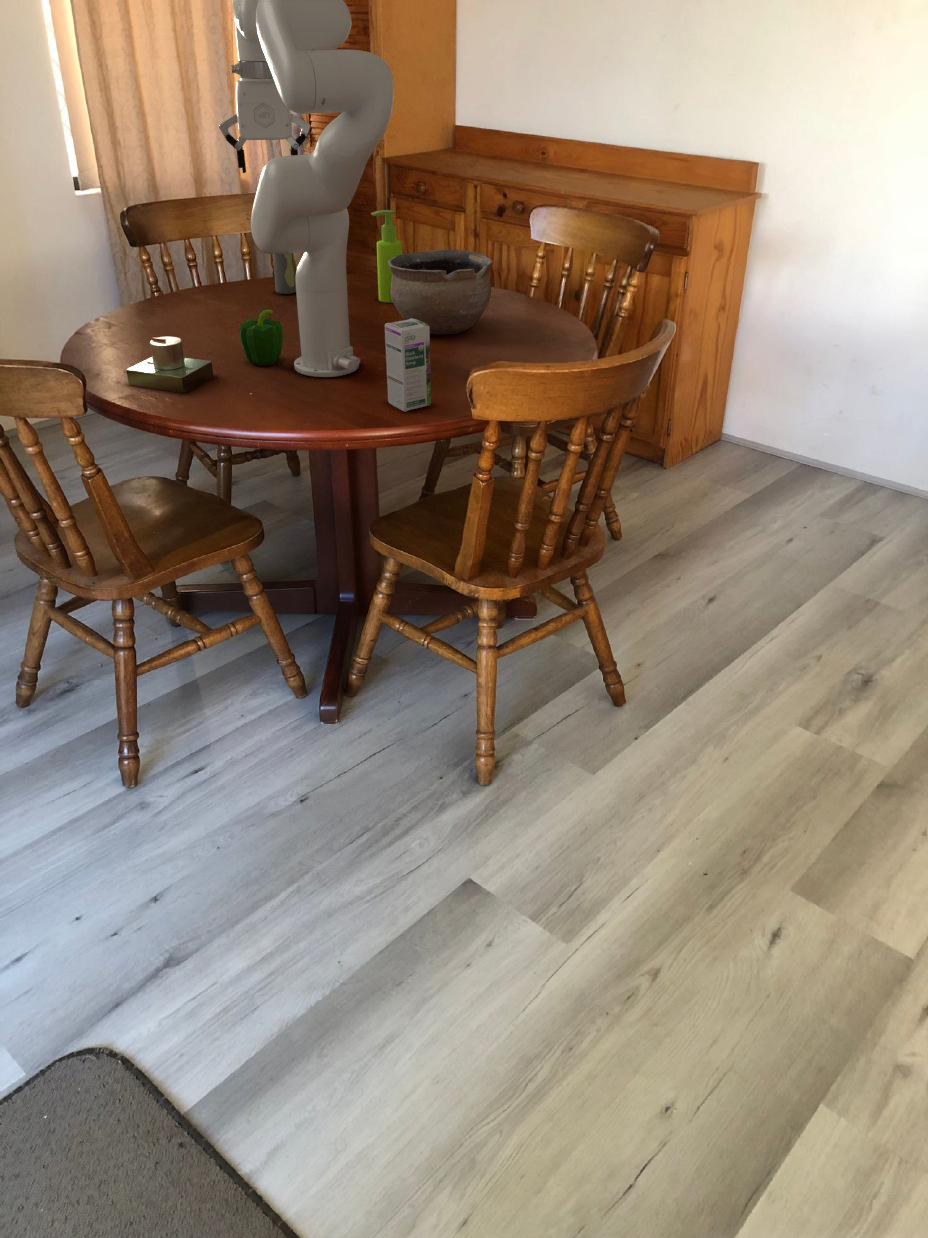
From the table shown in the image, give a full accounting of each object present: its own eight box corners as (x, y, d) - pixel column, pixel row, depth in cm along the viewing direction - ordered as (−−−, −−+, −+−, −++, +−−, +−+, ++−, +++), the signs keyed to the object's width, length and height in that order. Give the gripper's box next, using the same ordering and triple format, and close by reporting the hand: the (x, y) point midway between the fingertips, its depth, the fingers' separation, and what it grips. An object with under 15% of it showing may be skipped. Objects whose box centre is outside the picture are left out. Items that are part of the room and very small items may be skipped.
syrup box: (404, 412, 170) (402, 329, 162) (386, 402, 174) (384, 321, 166) (431, 406, 173) (430, 324, 165) (413, 396, 177) (411, 316, 169)
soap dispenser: (371, 297, 233) (367, 209, 222) (397, 295, 236) (395, 207, 225) (379, 304, 229) (376, 213, 218) (406, 301, 231) (405, 211, 220)
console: (213, 376, 185) (211, 360, 183) (184, 393, 177) (181, 376, 175) (160, 368, 188) (157, 352, 187) (128, 385, 180) (125, 368, 179)
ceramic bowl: (430, 351, 199) (430, 276, 191) (370, 326, 213) (367, 255, 205) (511, 332, 211) (513, 260, 203) (448, 310, 225) (449, 242, 217)
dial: (190, 362, 182) (186, 336, 180) (173, 371, 178) (169, 345, 175) (165, 358, 184) (161, 333, 181) (147, 367, 180) (143, 341, 177)
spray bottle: (271, 292, 236) (263, 204, 226) (286, 288, 240) (278, 201, 229) (285, 295, 234) (278, 207, 223) (300, 291, 237) (293, 204, 226)
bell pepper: (245, 370, 188) (239, 318, 183) (240, 357, 195) (235, 306, 189) (288, 367, 190) (283, 315, 185) (282, 354, 197) (278, 304, 191)
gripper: (212, 73, 177) (224, 175, 186) (307, 72, 180) (314, 173, 189) (213, 70, 183) (224, 169, 192) (305, 70, 186) (312, 167, 195)
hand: (269, 171), depth 191 cm, fingers open, 9 cm apart
